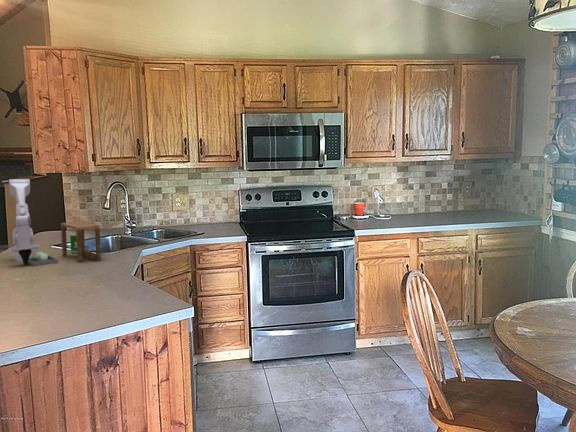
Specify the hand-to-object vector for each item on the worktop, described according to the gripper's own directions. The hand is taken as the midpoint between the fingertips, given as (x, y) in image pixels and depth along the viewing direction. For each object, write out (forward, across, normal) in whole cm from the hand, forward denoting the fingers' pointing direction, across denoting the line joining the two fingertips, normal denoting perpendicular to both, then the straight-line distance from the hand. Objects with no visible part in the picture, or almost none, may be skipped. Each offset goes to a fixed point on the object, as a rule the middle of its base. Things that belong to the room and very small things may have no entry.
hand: (25, 264), depth 263 cm
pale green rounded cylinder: (0, +8, +3) cm, 9 cm away
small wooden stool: (+1, +28, -2) cm, 28 cm away
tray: (+1, +8, 0) cm, 8 cm away
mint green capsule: (0, +8, -3) cm, 9 cm away
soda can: (+1, +34, +17) cm, 38 cm away
